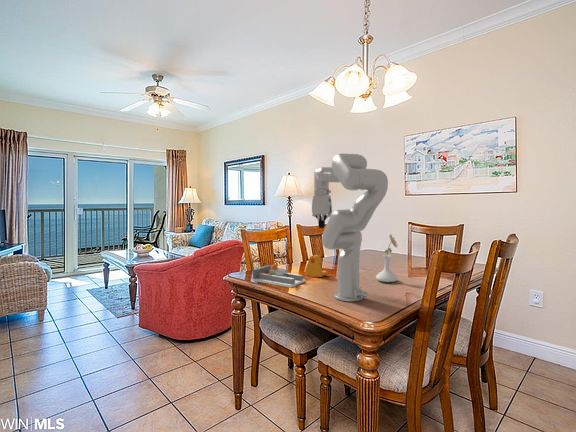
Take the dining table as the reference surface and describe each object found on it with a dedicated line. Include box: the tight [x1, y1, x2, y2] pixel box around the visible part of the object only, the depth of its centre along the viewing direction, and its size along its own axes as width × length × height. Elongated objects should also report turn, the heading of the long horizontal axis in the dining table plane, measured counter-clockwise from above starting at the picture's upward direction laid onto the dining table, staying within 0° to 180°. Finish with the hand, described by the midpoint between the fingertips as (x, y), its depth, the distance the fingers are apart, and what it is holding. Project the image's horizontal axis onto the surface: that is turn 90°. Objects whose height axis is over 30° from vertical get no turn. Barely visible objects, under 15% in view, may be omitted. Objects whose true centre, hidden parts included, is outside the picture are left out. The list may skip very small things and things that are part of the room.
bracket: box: [305, 254, 328, 278], centre depth 181 cm, size 11×7×12 cm, turn 49°
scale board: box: [252, 264, 306, 288], centre depth 169 cm, size 25×14×6 cm, turn 56°
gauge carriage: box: [267, 263, 289, 277], centre depth 169 cm, size 8×11×7 cm
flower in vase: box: [375, 234, 399, 283], centre depth 167 cm, size 13×11×25 cm
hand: (321, 227), depth 164 cm, fingers closed
